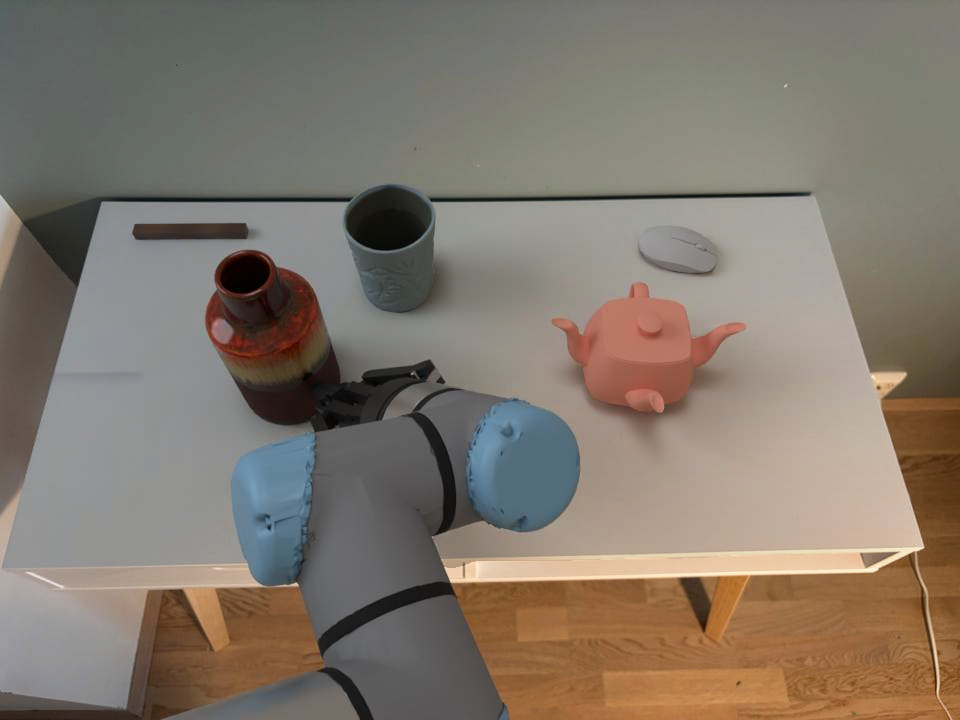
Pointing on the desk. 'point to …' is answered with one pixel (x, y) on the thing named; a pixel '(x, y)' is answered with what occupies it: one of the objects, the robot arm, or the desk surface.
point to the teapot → (641, 350)
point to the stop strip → (190, 231)
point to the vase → (270, 336)
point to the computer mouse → (678, 249)
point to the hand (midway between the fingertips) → (321, 395)
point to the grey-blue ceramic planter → (392, 244)
